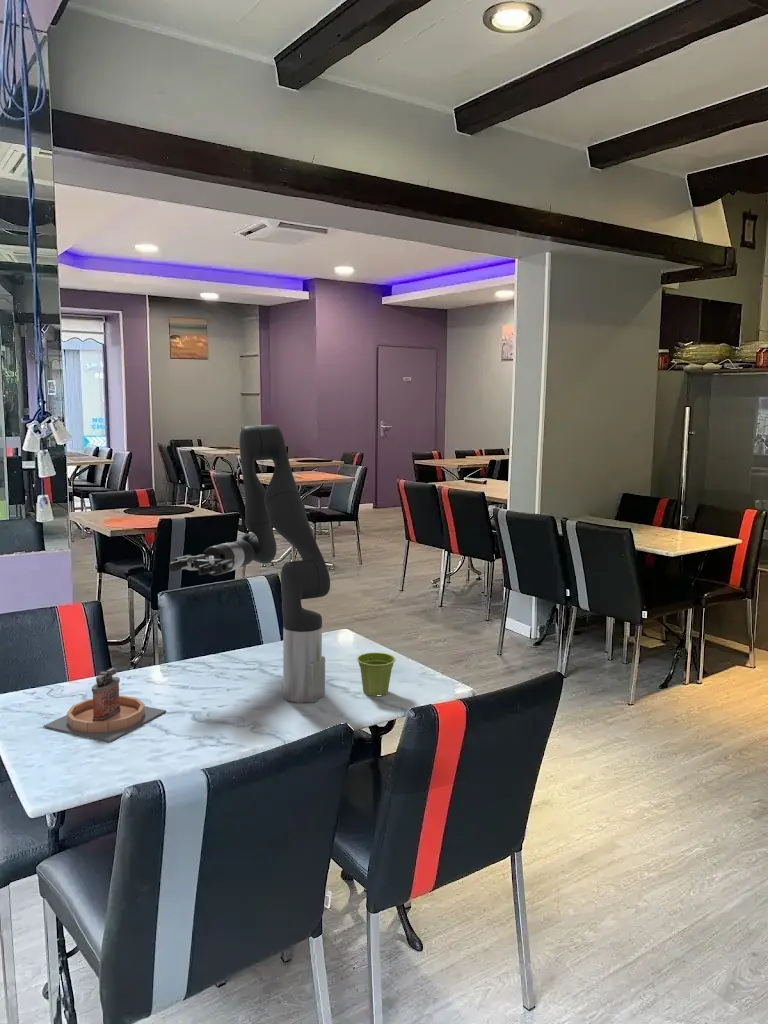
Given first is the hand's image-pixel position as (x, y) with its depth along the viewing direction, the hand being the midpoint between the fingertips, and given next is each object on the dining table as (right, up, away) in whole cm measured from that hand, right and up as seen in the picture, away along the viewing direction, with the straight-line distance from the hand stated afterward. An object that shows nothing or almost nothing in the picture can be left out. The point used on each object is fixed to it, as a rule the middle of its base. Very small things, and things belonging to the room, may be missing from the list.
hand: (184, 569), depth 185 cm
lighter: (-13, -31, -16) cm, 37 cm away
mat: (-13, -32, -16) cm, 38 cm away
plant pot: (+46, -31, +4) cm, 56 cm away
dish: (-13, -32, -16) cm, 38 cm away
